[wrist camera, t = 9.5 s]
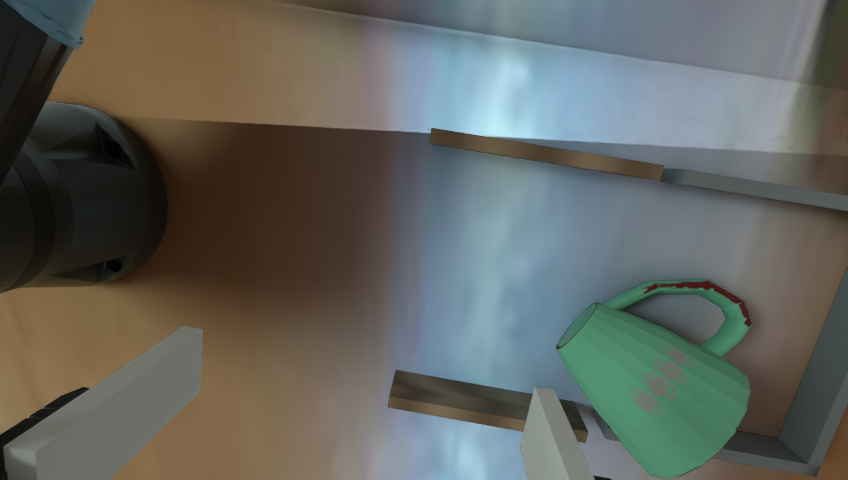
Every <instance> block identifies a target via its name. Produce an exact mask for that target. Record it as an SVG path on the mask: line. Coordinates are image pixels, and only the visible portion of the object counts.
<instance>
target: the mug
mask: <svg viewBox="0 0 848 480" xmlns="http://www.w3.org/2000/svg"><path fill="white" fill-rule="evenodd" d="M653 294H699V295H701V296H703V297H704V298H706V299H708V300H709V301H711V302H712V303H714V304H716V305H717V306H719V307H721V309H722V311H723V314H724V316H725V318H726V320H725V321H724V323H723V324H722V326H721V328H720V329H719V331H718V332H717V333H716V334H715V335H713V336H712V337H711V338H709V339H708V340H706V341H705V342H704V343H702V344H701V345H699V346H697V345H695V344H692V343H691V342H689V341H687V340H685V339H683V338H682V337H680V336H678V335H676V334H674V333H673V332H671V331H669V330H667V329H665V328H663V327H660V326H658V325H656V324H653V323H651V322H649V321H646V320H644V319H641V318H639V317H637V316H634V315H632V314H629V313H626V312H623V311H620V310H622V309H624V308H626V307H628V306H630V305H632V304H634V303H636V302H638V301H640V300H642V299H645V298H647V297H649V296H651V295H653ZM752 325H753V322H752V319H751V317H750V314H749V312H748V309H747V306H746V304H745V301H744V300H742V299H740V298H738V297H736V296H734V295H732V294H731V293H729V292H727V291H725V290H724V289H722V288H720V287H718V286H716V285H715V284H713V283H711V282H709V281H707V280H705V279H684V280H665V281H648V282H645V283H643V284H641V285H639V286H636V287H634V288H632V289H630V290H628V291H626V292H624V293H622V294H620V295H618V296H616V297H614V298H612V299H610V300H608V301H606V302H604V303H602V304H600V303H594V304H592V305H591V306H589V307H588V308H587V309H586V310H585V311H584V312H583V313H582V314H581V315H580V316H579V317H578V318H577V319H576V320H575V321H574V322H573V323H572V325H571V326H570V327H569V328H568V329H567V331H566V332H565V333H564V335H563V336H562V338H561V339H560V341H559V343H558V344H557V347H556V349H557V351H558V353H559V355H560V356H561V358H562V360H563V361H564V363H565V365H566V367H567V368H568V370H569V372H570V373H571V375H572V377H573V379H574V380H575V381H576V383H577V384H578V386H579V387H580V389H581V390H582V392H583V393H584V395H585V396H586V398H587V399H588V401H589V402H590V404H591V405H592V407H593V408H594V409H595V410H596V411H597V412H598V414H599V415H600V416H601V417H602V418H603V419H604V421H605V422H606V423H607V424H608V425H609V426H610V428H611V429H612V430H613V432H614V433H615V434H616V436H617V437H618V438H619V440H620V441H621V442H622V444H623V445H624V446H625V448H626V449H627V450H628V451H629V453H630V454H631V455H632V456H633V458H634V459H635V460H636V461H637V462H638V463H639V464H640V465H641V466H642V467H643V468H644V469H645V470H646V471H647V472H648V473H649V474H650V475H652V476H655V477H659V478H663V479H666V478H672V477H677V476H682V475H684V474H686V473H688V472H690V471H692V470H694V469H696V468H698V467H700V466H702V465H703V464H704V463H706V462H707V461H708V460H709V459H711V458H712V457H713V456H714V455H716V454H717V453H718V452H719V451H720V450H721V449H722V448H723V447H724V446H725V444H726V443H727V442H728V441H729V440H730V439H731V437H732V436H733V435H734V434H735V433H736V431H737V429H738V428H739V426H740V424H741V422H742V420H743V418H744V416H745V414H746V412H747V409H748V405H749V400H750V396H751V389H750V384H749V378H748V377H747V376H746V375H745V374H744V373H743V372H742V371H741V370H740V369H739V368H737V367H736V366H735V365H733V364H732V363H730V362H729V361H727V360H726V359H724V358H722V357H723V356H724V355H725V354H726V353H728V352H729V351H730V350H731V349H732V348H733V347H735V346H736V345H737V344H738V343H739V342H741V341H742V339H743V338H744V336H745V335H746V333H747V332H748V331H749V329H750V328H751V326H752Z"/></svg>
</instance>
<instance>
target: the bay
mask: <svg viewBox="0 0 848 480" xmlns="http://www.w3.org/2000/svg"><path fill="white" fill-rule="evenodd" d="M429 143H431V144H435V145H441V146H447V147H453V148H459V149H465V150H471V151H478V152H484V153H490V154H496V155H502V156H508V157H515V158H521V159H527V160H533V161H539V162H545V163H551V164H558V165H564V166H570V167H576V168H582V169H588V170H595V171H601V172H607V173H613V174H619V175H625V176H631V177H639V178H647V179H655V180H660V178H661V174H662V171H663V167H664V165H658V164H652V163H646V162H639V161H633V160H627V159H621V158H615V157H608V156H602V155H596V154H590V153H584V152H577V151H571V150H565V149H559V148H553V147H546V146H540V145H534V144H528V143H522V142H515V141H509V140H503V139H497V138H491V137H485V136H478V135H472V134H466V133H460V132H454V131H447V130H441V129H435V128H432V129H431V135H430V141H429ZM531 399H532V394H526V393H521V392H515V391H509V390H504V389H498V388H493V387H487V386H481V385H476V384H470V383H465V382H459V381H453V380H448V379H442V378H437V377H431V376H425V375H420V374H414V373H409V372H403V371H398V370H396V372H395V376H394V380H393V384H392V388H391V392H390V396H389V402H388V407H390V408H395V409H401V410H406V411H412V412H417V413H423V414H428V415H434V416H439V417H445V418H450V419H456V420H461V421H467V422H472V423H478V424H483V425H489V426H494V427H500V428H505V429H511V430H516V431H522V432H524V428H525V424H526V420H527V416H528V411H529V407H530V403H531ZM559 401H560V404H561V406H562V408H563V410H564V412H565V415H566V417H567V419H568V421H569V423H570V426H571V428H572V430H573V432H574V434H575V437H576V439H577V441H578V442H583V443H586V439H587V436H588V430H587V428H586V426H585V424H584V422H583V420H582V418H581V416H580V414H579V412H578V410H577V408H576V406H575V404H574V402H571V401H565V400H560V399H559Z"/></svg>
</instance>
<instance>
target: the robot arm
mask: <svg viewBox="0 0 848 480" xmlns="http://www.w3.org/2000/svg"><path fill="white" fill-rule="evenodd" d="M95 1H96V0H0V293H3V292H6V291H9V290H13V289H16V288H26V287H80V286H92V285H97V284H102V283H106V282H108V281H111V280H114V279H117V278H119V277H122V276H125V275H127V274H129V273H131V272H133V271H135V270H137V269H138V268H140V267H141V266H142V265H143V264H144V263H146V262H147V261H148V260H149V258H150V257H151V256H152V255H153V253H154V252H155V251H156V249H157V247H158V246H159V244H160V242H161V239H162V237H163V234H164V231H165V227H166V221H167V196H166V190H165V186H164V182H163V179H162V176H161V173H160V171H159V168H158V166H157V164H156V162H155V160H154V159H153V157H152V155H151V154H150V152H149V151H148V149H147V148H146V146H145V145H144V144H143V143H142V141H141V140H140V139H139V138H138V137H137V136H136V135H135V134H134V133H133V132H132V131H131V130H130V129H129V128H127V127H126V126H125V125H124V124H122V123H121V122H119V121H118V120H116V119H115V118H113V117H111V116H110V115H108V114H106V113H103V112H101V111H99V110H96V109H93V108H90V107H86V106H81V105H74V104H66V103H58V102H46V100H47V99H48V97H49V95H50V93H51V91H52V89H53V87H54V85H55V83H56V81H57V80H58V78H59V76H60V74H61V72H62V70H63V68H64V66H65V64H66V62H67V61H68V59H69V57H70V55H71V53H72V51H73V49H77V50H78V48H79V47H80V46H81V45H82V44H83V42H84V39H83V35H82V31H83V29H84V26H85V24H86V22H87V20H88V17H89V15H90V13H91V10H92V8H93V6H94V4H95ZM202 334H203V329H198V328H192V327H187V326H183V327H181V328H180V329H178V330H177V331H175V332H174V333H172V334H171V335H169V336H168V337H166V338H165V339H163V340H162V341H160V342H159V343H157V344H156V345H154V346H153V347H151V348H150V349H148V350H147V351H145V352H144V353H142V354H141V355H139V356H138V357H136V358H135V359H133V360H132V361H130V362H129V363H127V364H126V365H124V366H123V367H122V368H120V369H119V370H117V371H116V372H114V373H113V374H111V375H110V376H108V377H107V378H105V379H104V380H102V381H101V382H99V383H98V384H96V385H95V386H93V387H92V388H85V387H82V388H80V389H77V390H75V391H72V392H70V393H67V394H65V395H62V396H60V397H59V398H57V399H56V400H54V401H53V402H51V403H49V404H48V405H46V406H45V407H44V409H40V410H38V411H37V412H35V413H34V414H32V415H31V416H30V417H29V418H28V419H27V418H26V419H24V420H23V421H21V422H20V423H18V424H17V425H15V426H13V427H12V428H10V429H9V430H7V431H6V432H4V433H2V434H1V435H0V480H110V479H111V478H112V477H113V476H114V475H115V474H116V473H117V472H118V471H119V470H120V469H121V468H122V467H123V466H124V465H125V464H126V463H127V462H128V461H129V460H131V459H132V458H133V457H134V456H135V455H136V454H137V453H138V452H139V451H140V450H141V449H142V448H143V447H144V446H145V445H146V444H147V443H148V442H149V441H150V440H151V439H152V438H153V437H154V436H155V435H156V434H157V433H158V432H159V431H160V430H161V429H162V428H163V427H164V426H165V425H166V424H167V423H168V422H169V421H170V420H171V419H172V418H173V417H174V416H175V415H176V414H177V413H179V412H180V411H181V410H182V409H183V408H184V407H185V406H186V405H187V404H188V403H189V402H190V401H191V400H192V399H193V398H194V397H195V396H196V395H197V394H198V393H199V392H200V385H201V359H202ZM520 450H521V454H522V458H523V462H524V466H525V470H526V474H527V478H528V480H611V479H610V478H604V477H598V476H593V474H592V472H591V470H590V468H589V465H588V463H587V461H586V459H585V456H584V454H583V452H582V450H581V448H580V445H579V443H578V441H577V439H576V437H575V434H574V432H573V430H572V428H571V426H570V423H569V421H568V419H567V417H566V415H565V412H564V410H563V408H562V406H561V404H560V401H559V399H558V397H557V395H556V392H555V390H552V389H546V388H541V387H534V391H533V395H532V399H531V403H530V407H529V411H528V416H527V420H526V424H525V428H524V432H523V436H522V440H521V444H520Z"/></svg>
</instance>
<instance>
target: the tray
mask: <svg viewBox="0 0 848 480" xmlns="http://www.w3.org/2000/svg"><path fill="white" fill-rule="evenodd" d="M660 181H662V182H668V183H674V184H681V185H687V186H693V187H699V188H705V189H711V190H718V191H724V192H730V193H736V194H742V195H748V196H754V197H761V198H767V199H773V200H779V201H785V202H791V203H798V204H804V205H810V206H816V207H822V208H828V209H834V210H841V211H847V212H848V196H845V195H839V194H833V193H826V192H820V191H814V190H808V189H802V188H795V187H789V186H783V185H777V184H771V183H765V182H758V181H752V180H746V179H740V178H734V177H727V176H721V175H715V174H709V173H703V172H696V171H690V170H682V169H667V168H663V171H662V174H661V178H660ZM847 405H848V267H847V269H846V272H845V274H844V277H843V279H842V282H841V284H840V286H839V289H838V291H837V294H836V296H835V299H834V301H833V304H832V306H831V309H830V311H829V314H828V316H827V319H826V321H825V324H824V326H823V329H822V331H821V334H820V336H819V339H818V341H817V344H816V346H815V349H814V351H813V354H812V356H811V359H810V361H809V364H808V366H807V369H806V371H805V374H804V376H803V379H802V381H801V384H800V386H799V389H798V391H797V393H796V396H795V398H794V401H793V403H792V406H791V408H790V411H789V413H788V416H787V418H786V421H785V423H784V426H783V428H782V431H781V433H780V436H779V438H773V437H767V436H761V435H756V434H750V433H745V432H739V431H736V433H735V434H734V435H733V436H732V437H731V439H730V440H729V441H728V442H727V443H726V444H725V446H724V447H723V448H722V449H721V450H720V451H719V452H718V453H717V454H716V455H714V456H713V457H712V458H714V459H720V460H725V461H731V462H736V463H742V464H747V465H753V466H758V467H764V468H769V469H775V470H781V471H786V472H792V473H797V474H803V475H808V476H814V477H816V476H817V474H818V471H819V469H820V467H821V464H822V462H823V460H824V458H825V455H826V453H827V451H828V448H829V446H830V444H831V442H832V439H833V437H834V435H835V432H836V430H837V428H838V425H839V423H840V421H841V419H842V416H843V414H844V412H845V409H846V407H847ZM593 417H594V418H595V420H596V422H597V424H598V426H599V427H600V429H601V431H602V433H603V435H604V437H605V438H606V439H609V440H615V441H620V440H619V438H618V437H617V436H616V434H615V433H614V432H613V430H612V429H611V428H610V426H609V425H608V424H607V423H606V422H605V421H604V419H603V418H602V417H601V416H600V415H599V414H598V412H597V411H596V410H595V411H594V414H593ZM620 442H621V441H620Z"/></svg>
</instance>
